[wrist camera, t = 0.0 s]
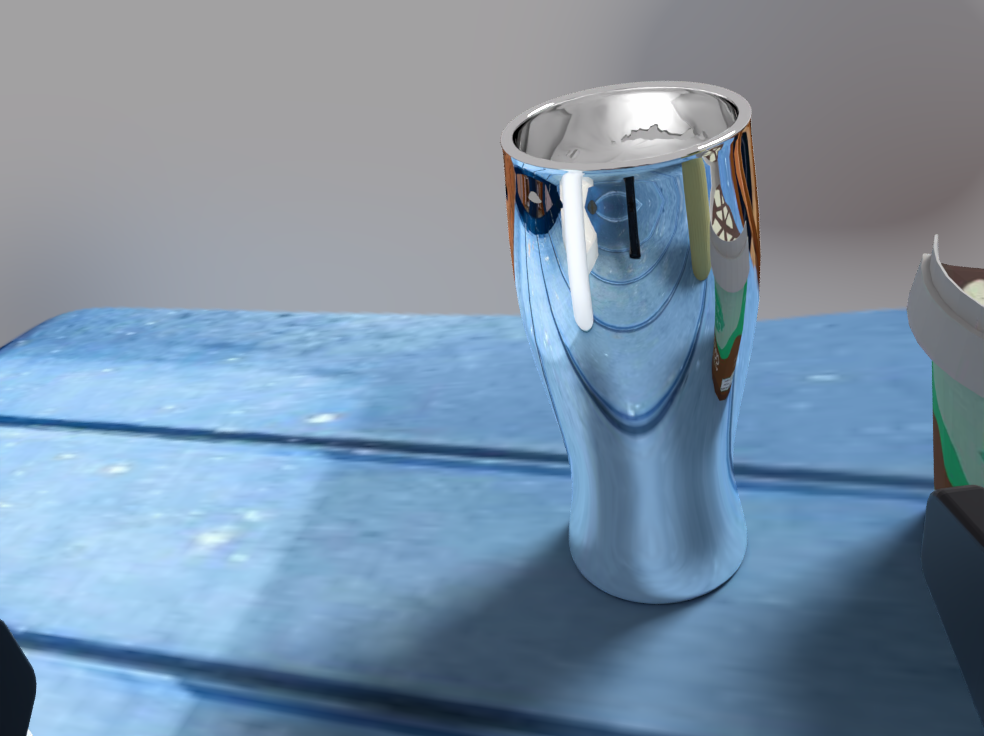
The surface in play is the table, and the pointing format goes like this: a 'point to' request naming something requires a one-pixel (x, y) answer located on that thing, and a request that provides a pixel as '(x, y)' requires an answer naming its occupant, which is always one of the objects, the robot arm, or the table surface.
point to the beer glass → (641, 319)
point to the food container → (952, 364)
